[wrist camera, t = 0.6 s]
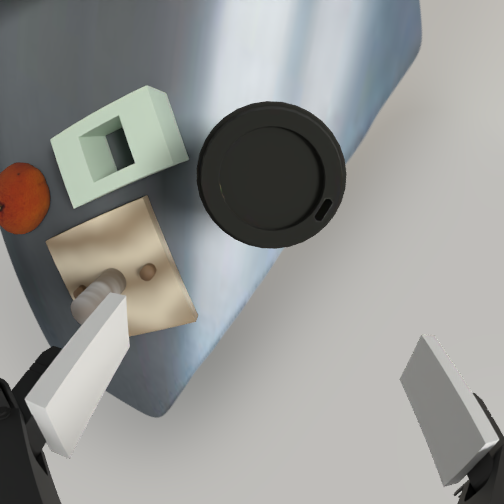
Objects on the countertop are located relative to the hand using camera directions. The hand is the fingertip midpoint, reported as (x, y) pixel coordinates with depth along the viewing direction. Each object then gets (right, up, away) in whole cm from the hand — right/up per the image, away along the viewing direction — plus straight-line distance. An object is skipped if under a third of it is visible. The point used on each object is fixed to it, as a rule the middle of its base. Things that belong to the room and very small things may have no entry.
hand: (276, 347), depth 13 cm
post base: (-18, +1, +25) cm, 31 cm away
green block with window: (-15, +16, +20) cm, 29 cm away
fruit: (-30, +12, +22) cm, 39 cm away
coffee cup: (+1, +13, +20) cm, 24 cm away
